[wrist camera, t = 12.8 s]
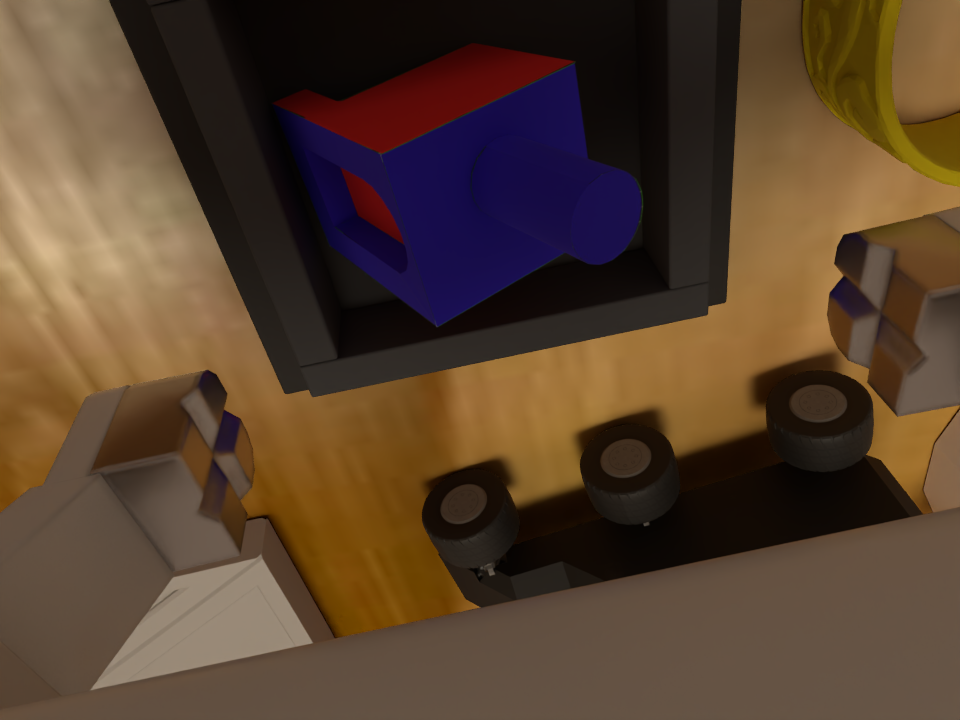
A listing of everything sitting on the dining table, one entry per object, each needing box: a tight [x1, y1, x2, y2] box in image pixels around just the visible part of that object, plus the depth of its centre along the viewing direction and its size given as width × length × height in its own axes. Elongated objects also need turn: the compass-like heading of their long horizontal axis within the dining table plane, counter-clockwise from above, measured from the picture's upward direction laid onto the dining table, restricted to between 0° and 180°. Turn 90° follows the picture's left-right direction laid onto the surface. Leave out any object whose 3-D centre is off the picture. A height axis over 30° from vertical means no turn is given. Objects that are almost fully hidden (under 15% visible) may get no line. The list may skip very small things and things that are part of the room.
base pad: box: [109, 0, 742, 397], centre depth 16 cm, size 13×13×3 cm
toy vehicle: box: [422, 371, 923, 608], centre depth 23 cm, size 8×15×9 cm, turn 108°
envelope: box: [91, 518, 335, 690], centre depth 28 cm, size 24×2×14 cm
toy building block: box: [272, 43, 644, 327], centre depth 14 cm, size 4×4×8 cm
